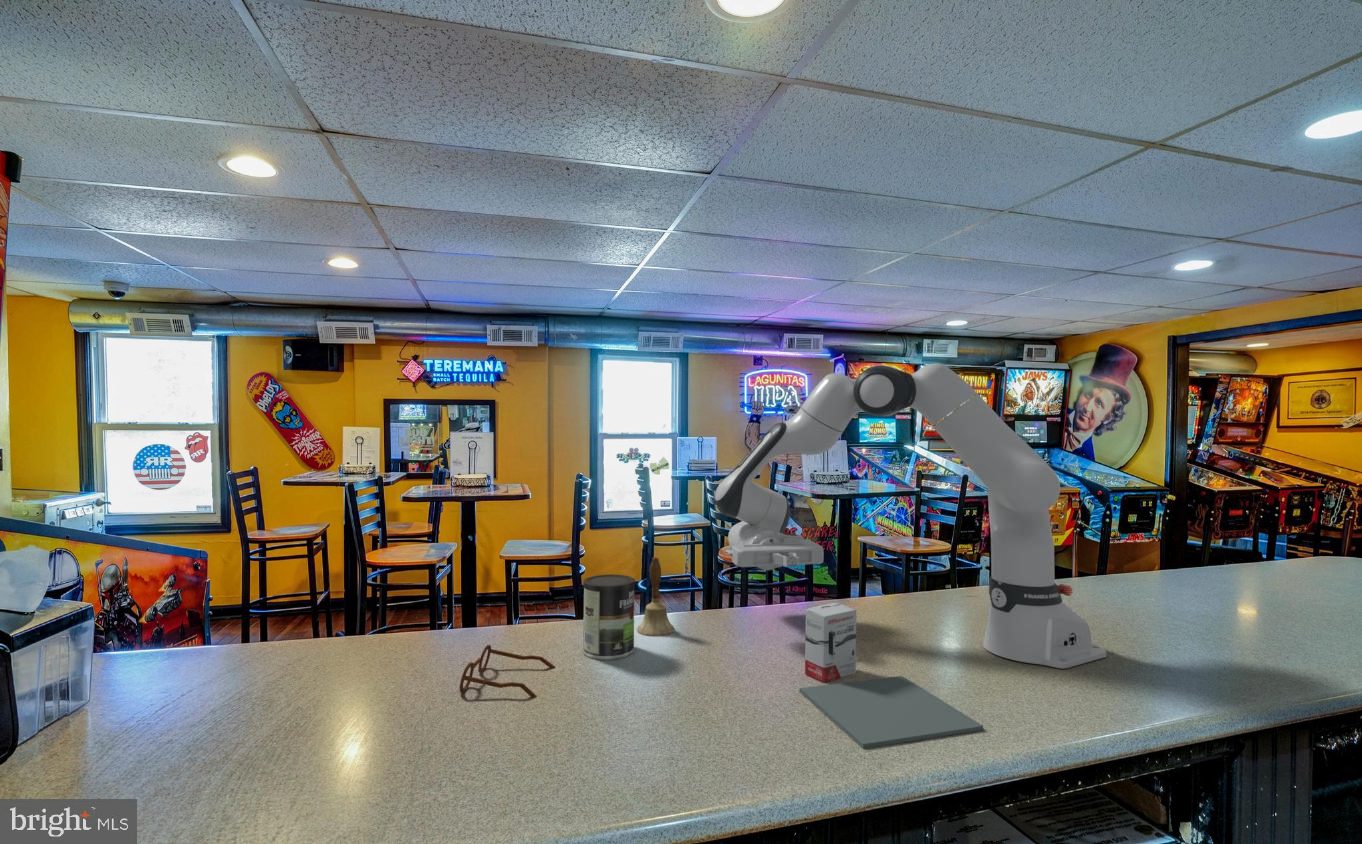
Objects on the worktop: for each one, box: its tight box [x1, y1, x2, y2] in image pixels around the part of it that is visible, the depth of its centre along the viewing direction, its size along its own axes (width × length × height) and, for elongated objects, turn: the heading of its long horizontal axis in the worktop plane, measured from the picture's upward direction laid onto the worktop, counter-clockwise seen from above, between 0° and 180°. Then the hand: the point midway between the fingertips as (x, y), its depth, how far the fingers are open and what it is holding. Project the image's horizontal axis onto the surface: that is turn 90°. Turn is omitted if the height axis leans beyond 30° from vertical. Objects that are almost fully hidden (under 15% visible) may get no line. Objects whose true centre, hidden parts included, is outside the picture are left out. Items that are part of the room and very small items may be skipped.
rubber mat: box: [799, 675, 984, 749], centre depth 94 cm, size 20×19×1 cm
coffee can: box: [582, 573, 636, 661], centre depth 120 cm, size 10×10×14 cm
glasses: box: [459, 644, 556, 698], centre depth 105 cm, size 13×13×5 cm
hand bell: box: [636, 557, 675, 637], centre depth 133 cm, size 8×8×16 cm
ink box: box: [804, 602, 857, 684], centre depth 109 cm, size 8×5×12 cm, turn 123°
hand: (792, 562), depth 123 cm, fingers closed
